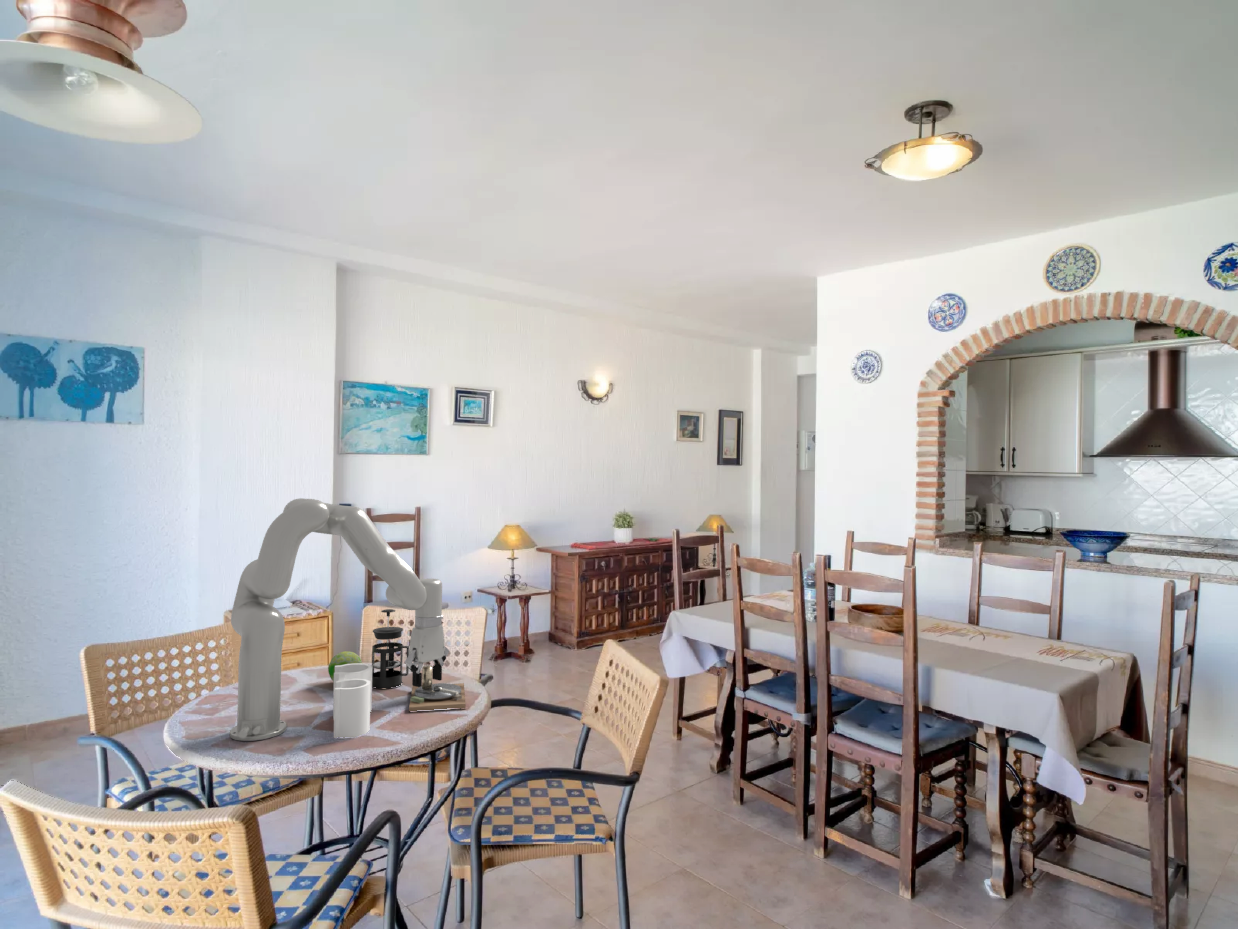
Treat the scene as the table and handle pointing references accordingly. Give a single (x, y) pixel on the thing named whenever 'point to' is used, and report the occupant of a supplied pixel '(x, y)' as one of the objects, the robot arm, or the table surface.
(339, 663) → the decorative ball
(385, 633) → the french press
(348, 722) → the white utensil holder
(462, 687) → the dial board
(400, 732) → the table surface
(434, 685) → the dial
